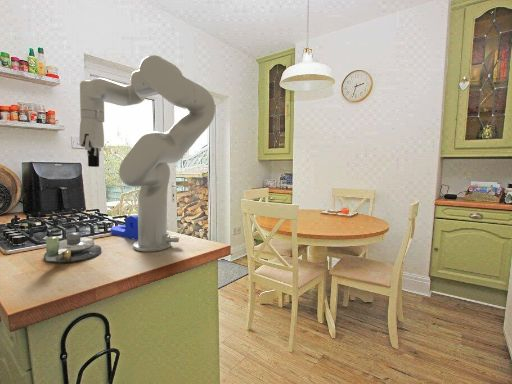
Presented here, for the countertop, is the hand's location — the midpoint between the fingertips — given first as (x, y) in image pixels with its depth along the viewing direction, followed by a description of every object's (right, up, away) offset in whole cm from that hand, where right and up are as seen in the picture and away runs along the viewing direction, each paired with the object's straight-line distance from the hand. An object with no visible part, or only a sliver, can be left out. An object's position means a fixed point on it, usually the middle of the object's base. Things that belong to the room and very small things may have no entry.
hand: (93, 166), depth 102 cm
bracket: (+10, -27, +9) cm, 30 cm away
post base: (+4, -29, -16) cm, 34 cm away
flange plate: (+4, -27, -20) cm, 34 cm away
